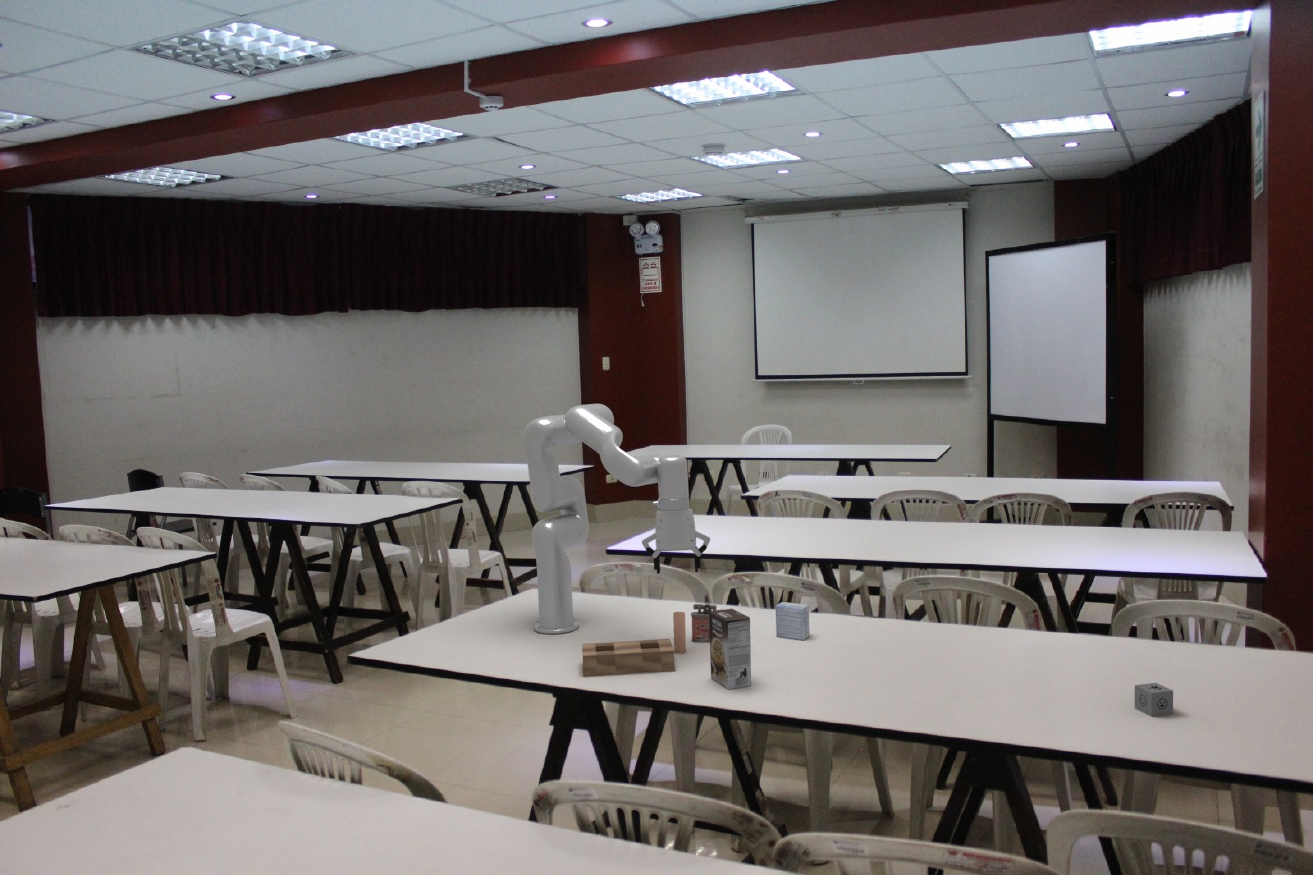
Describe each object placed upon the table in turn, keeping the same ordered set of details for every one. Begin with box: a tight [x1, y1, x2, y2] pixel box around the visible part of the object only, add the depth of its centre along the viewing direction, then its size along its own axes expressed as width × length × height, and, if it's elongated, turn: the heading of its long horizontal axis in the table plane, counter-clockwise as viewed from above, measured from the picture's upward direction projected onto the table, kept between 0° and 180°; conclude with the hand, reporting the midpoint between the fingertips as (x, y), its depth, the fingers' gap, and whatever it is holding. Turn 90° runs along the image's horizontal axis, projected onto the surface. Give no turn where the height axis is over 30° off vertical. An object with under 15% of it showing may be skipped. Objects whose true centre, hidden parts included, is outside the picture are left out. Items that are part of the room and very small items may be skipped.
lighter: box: [690, 602, 718, 644], centre depth 258 cm, size 8×3×10 cm, turn 84°
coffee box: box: [709, 608, 752, 690], centre depth 225 cm, size 9×6×16 cm
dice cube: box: [1134, 682, 1174, 718], centre depth 200 cm, size 5×5×5 cm
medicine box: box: [775, 601, 811, 641], centre depth 259 cm, size 8×4×9 cm, turn 58°
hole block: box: [581, 638, 676, 677], centre depth 239 cm, size 10×22×5 cm, turn 95°
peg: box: [672, 611, 687, 654], centre depth 249 cm, size 3×3×10 cm
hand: (677, 571), depth 246 cm, fingers open, 9 cm apart
